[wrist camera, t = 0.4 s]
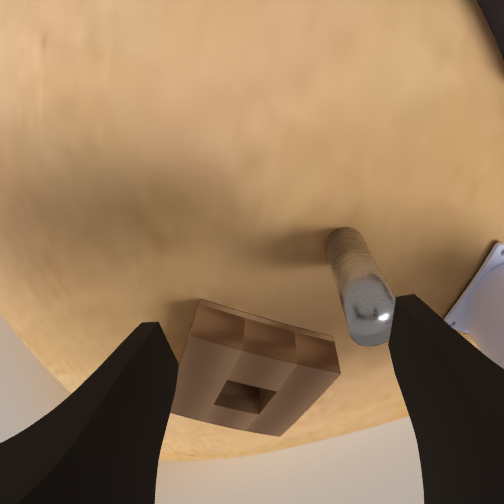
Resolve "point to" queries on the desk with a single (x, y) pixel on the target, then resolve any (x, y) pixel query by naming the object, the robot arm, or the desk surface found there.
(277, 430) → the bore block
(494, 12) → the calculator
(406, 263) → the desk surface
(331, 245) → the pin
